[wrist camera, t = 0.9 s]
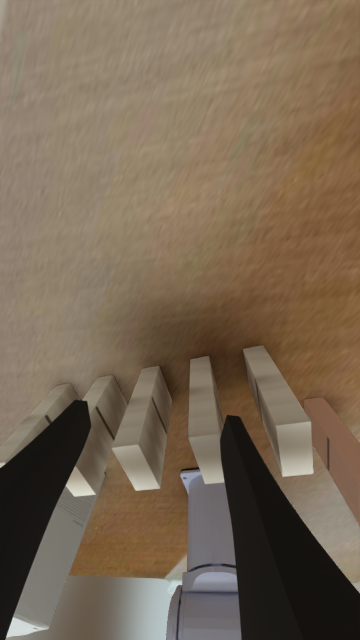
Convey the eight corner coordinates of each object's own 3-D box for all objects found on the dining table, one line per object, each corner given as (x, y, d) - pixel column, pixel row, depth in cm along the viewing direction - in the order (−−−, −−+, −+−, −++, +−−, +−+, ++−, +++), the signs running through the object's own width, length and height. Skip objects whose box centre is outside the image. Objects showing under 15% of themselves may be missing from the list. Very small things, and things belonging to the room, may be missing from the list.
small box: (74, 450, 28) (-13, 607, 16) (107, 473, 30) (50, 631, 18) (41, 470, 31) (-55, 620, 19) (73, 491, 32) (3, 641, 20)
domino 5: (268, 384, 22) (313, 473, 14) (249, 387, 22) (282, 476, 14) (263, 345, 20) (311, 421, 12) (242, 349, 21) (275, 426, 12)
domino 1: (88, 414, 25) (38, 500, 17) (74, 416, 26) (18, 501, 18) (70, 383, 24) (4, 462, 15) (55, 385, 24) (-17, 465, 16)
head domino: (323, 428, 24) (392, 530, 16) (305, 430, 24) (363, 531, 16) (322, 396, 22) (400, 492, 14) (303, 399, 23) (367, 495, 14)
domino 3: (172, 400, 24) (160, 488, 15) (155, 402, 24) (135, 490, 16) (159, 365, 22) (138, 444, 14) (141, 368, 22) (110, 447, 14)
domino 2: (129, 407, 25) (96, 494, 16) (113, 409, 25) (73, 496, 17) (113, 374, 23) (67, 454, 15) (97, 377, 23) (43, 457, 15)
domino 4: (218, 392, 23) (232, 481, 15) (200, 395, 23) (204, 484, 15) (209, 355, 21) (219, 433, 13) (190, 359, 21) (187, 437, 13)
